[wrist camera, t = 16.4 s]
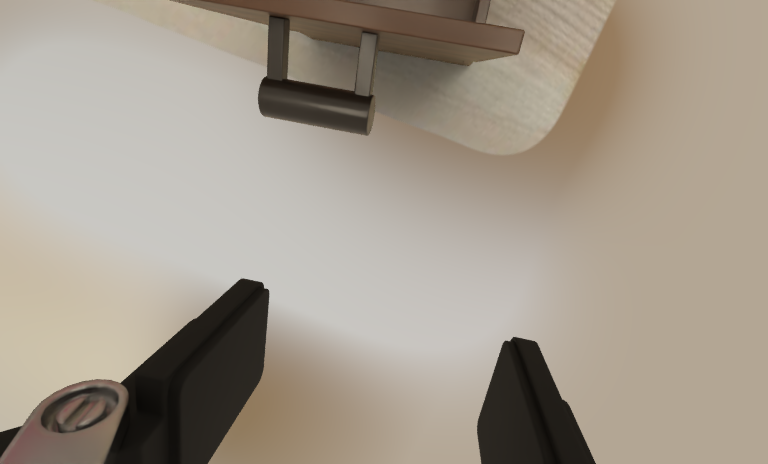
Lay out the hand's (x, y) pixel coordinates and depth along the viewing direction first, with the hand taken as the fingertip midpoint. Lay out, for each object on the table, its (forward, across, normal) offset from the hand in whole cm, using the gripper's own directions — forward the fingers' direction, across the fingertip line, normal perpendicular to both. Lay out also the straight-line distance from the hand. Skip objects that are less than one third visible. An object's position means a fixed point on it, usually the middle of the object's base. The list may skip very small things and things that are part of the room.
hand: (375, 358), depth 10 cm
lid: (+15, +5, -10) cm, 19 cm away
